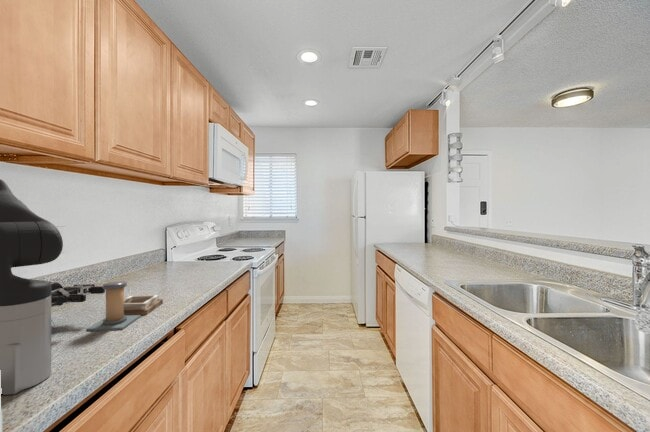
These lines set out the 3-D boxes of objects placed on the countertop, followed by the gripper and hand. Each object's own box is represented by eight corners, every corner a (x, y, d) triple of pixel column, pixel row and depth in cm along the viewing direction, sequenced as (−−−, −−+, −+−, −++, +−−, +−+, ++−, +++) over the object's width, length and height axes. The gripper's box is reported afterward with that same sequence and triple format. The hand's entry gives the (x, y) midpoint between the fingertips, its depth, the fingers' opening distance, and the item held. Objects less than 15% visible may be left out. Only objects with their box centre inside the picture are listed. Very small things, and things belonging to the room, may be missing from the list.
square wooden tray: (146, 314, 96) (146, 304, 96) (108, 315, 94) (108, 305, 94) (162, 303, 108) (162, 294, 107) (129, 304, 106) (129, 295, 106)
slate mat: (122, 329, 84) (123, 327, 84) (86, 330, 82) (86, 328, 82) (140, 316, 94) (140, 315, 94) (108, 317, 92) (108, 316, 92)
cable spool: (119, 325, 85) (119, 285, 85) (98, 325, 85) (98, 286, 84) (130, 317, 91) (130, 281, 91) (110, 318, 91) (110, 281, 90)
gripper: (14, 289, 78) (78, 288, 80) (56, 277, 92) (110, 276, 94) (14, 315, 78) (77, 314, 80) (56, 299, 92) (109, 298, 94)
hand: (95, 293), depth 87 cm, fingers open, 8 cm apart
